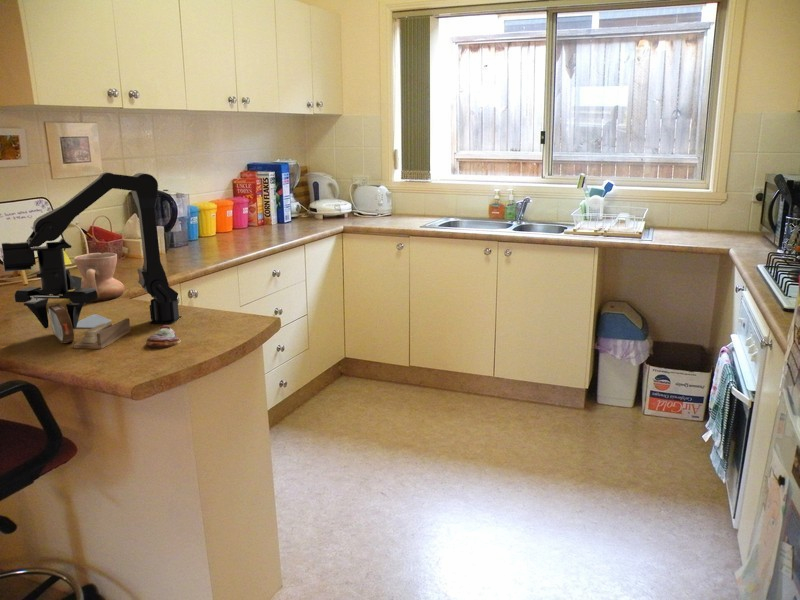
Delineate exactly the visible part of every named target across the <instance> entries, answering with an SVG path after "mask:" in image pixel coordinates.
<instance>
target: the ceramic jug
mask: <svg viewBox="0 0 800 600" xmlns="http://www.w3.org/2000/svg"><path fill="white" fill-rule="evenodd" d="M73 260H74V263H75V265H76V267H77V270H78V271H79V273H80V275H81V276H82V279H83V281H82V282H81V288H94V289H95V290H96V291H97V297H98V298H97V299H95V300H92V301H91V302H100V301H109V300H112V299H116V298H119V297H121V296H122V295H123V294H124V292H125V285H124V284H123V283H122V282H121V281H120V280H118V279H116V278H114V273H115V271H116V268H117V267H116V266H117V262H118V254H117V253H114V252H103V253H101V252H92V253H91V252H90V253H86V254H82V255H77V256H75V257H74V258H73ZM74 290H76V289H74Z"/></svg>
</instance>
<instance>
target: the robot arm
mask: <svg viewBox="0 0 800 600" xmlns="http://www.w3.org/2000/svg"><path fill="white" fill-rule="evenodd" d="M158 183H159V182H158V180H157V179H156V177H154V176H153V175H151V174H150V173H145V172H139V173H135V174H134V175H125V174H119V173H117V174H116V173H112V172H108V171H107V172H102V173H100V175H99V176H98V177H97V178H96V179H95V180H93V181H92V182H91V183H89V184H88V185H86V186H85V188H83V189H82V190H80V191H79V192H78V193H76V194H75V195H74V196H73V197H71V198H69V200H67V201H66V202H65V203H64V204H62V205H60V206H59V207H57V208H54V209H52V210H50V211H48V212H46V213H44V214H41V215H40V216H38V217H36V218H35V220H34V221H33V224H32V230H33V231H32V232H31V234H30V235H29V236H28V237H27V239H26V241H25V242H24V241H23V242H12V243H11V242H2V243H1V251H2V255H1V258H2V264H3V270H4V272H5V273H6V272H8V273H9V272H16V271H17V272H19V271H29V270H32V267H34V266H35V265H36V263H37V262H38V269H39V272H37V273H36V278H37V279H38V278H39V279H40V285H41V286H27V287H23V288H20V289H18V290H15V293H14V294H13V298H14V302H15V303H23V306H24V307H27V308H28V309H29V310H30V311H31V312H32V314H33V315H34V316H35V317H36V319H37V320H38V321H39V323H40V324H41V325H42V327H43V328H44V329H48V328H49V314H48V307H47V305H48V301H49V299H50V300H51V299H54V300H56V299H57V300H60V299H62V300H63V299H64V300H68V299H69V301H70V302H69V303H66V304H65V306H66V307H65V308H66V310H67V312H68V314H69V316H70V319H71V322H72V326H73V330H75V328H76V327H77V323H78V321H79V318H80V315H81V311H82V309H83V306H84V305H85V304H87V303H91V302H93V301H92V300H95V299H97V298H98V297H97V291H96V290H95V289H94V288H81V283H82V282H83V281H82V280H83V277H81V276H76V275H72V274H71V271H70V269H67V268H66V262H65V253H64V249H72V245H71V244H70V243H69V242H67V241H66V240H65V238H63V237H62V238H60V237H61V235H63V233H64V232H65V231H66V230H67V229H68V227H69V226H70V225H71V223H72V222H73V221H74V219H76V217H78V216H79V215H80V214H81V213H83V212H84V211H85V210H86V209H88V208H89V207H90V206H92V205H93V204H95V203H96V202H97V201H98V200H99V199H101V198H102V197H103V196H104V195H106V194H107V193H108V192H110V191H111V190H114V189H115V190H123V191H130V192H131V194H132V195H131V196H132V197H133V201H134V203H135V205H136V208H137V214H138V221H139V222H138V223H139V229H140V230H139V231H140V238H141V239H140V240H141V246H142V247H141V248H142V249H141V250H142V257H143V265H142V268H136V270H137V274H138V280H137V281H138V282H137V283H138V284H139V285H141V288H142V289H143V290H144V291H145V292H147V293H148V294H149V295H150V296H151V298H152V299H150V304H149V316H150V321H149V324H155V325H156V324H161V325H163V324H164V325H168V324H170V325H172V324H171V323H173V324H174V323H176V322H178V321H179V320H180V319H179V318H181V317H182V316H181V315H180V312H179V310H180V309H179V302H178V296H179V293H178V291H176V290H175V289H173V287H170V285H169V280H168V277H167V274H166V272H165V269H164V267H163V264H162V262H161V253H160V245H159V244H160V243H159V235H158V233H159V232H158V226H157V225H158V223H157V216H156V204H157V201H158V194H159V192H158V191H159V184H158ZM59 238H60V240H58V241H56V240H57V239H59ZM43 244H45V245H44V246H42V245H43ZM35 252H36V254H37V255H36V256H37V262H36V256H35ZM75 289H76V290H75ZM182 318H183V317H182ZM182 318H181V319H182ZM178 319H179V320H178ZM177 320H178V321H177ZM175 321H176V322H175Z"/></svg>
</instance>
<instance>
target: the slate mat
mask: <svg viewBox="0 0 800 600" xmlns="http://www.w3.org/2000/svg"><path fill="white" fill-rule="evenodd" d="M111 321H113V320H112V319H110V318H107V317H105V316H102V315H99V314H96V313H94V314H92V315H88V316H87V317H85V318H83V319H80V320H78V323H77V327H76V328H75V329H78V330H80V329H82V330H83V329H84V330H85V329H88V330H89V329H91V328H94V327H96V326H98V325H100V324H102V323H110V322H111ZM75 329H74V330H75Z"/></svg>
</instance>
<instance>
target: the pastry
mask: <svg viewBox="0 0 800 600" xmlns="http://www.w3.org/2000/svg"><path fill="white" fill-rule="evenodd" d="M181 342H182V340H181V339H180V338H179V337H178V336H177V333H176V332H175V330H173V329H172V328H171V327H170V325H168V324H164V325H162V326H160V327H159V329H158V331H156V332H155V333H153V334H151V335H150V336H148V338H147V339H146V341H145V344H146V345H145V346H146V347H148V348H150V349H166V348H167V349H168V348H170V347H174V346H177V345H178V344H180V343H181Z"/></svg>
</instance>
